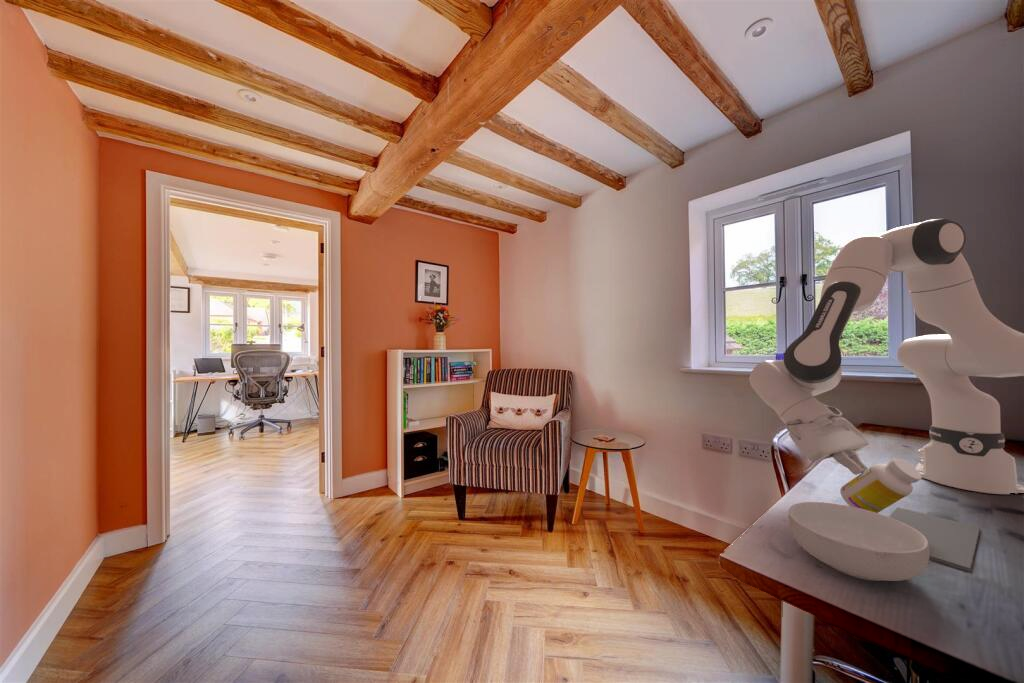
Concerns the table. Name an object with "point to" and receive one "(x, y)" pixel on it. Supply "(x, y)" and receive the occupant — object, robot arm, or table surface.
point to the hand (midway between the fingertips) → (862, 472)
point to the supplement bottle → (880, 485)
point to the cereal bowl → (859, 541)
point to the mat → (943, 537)
